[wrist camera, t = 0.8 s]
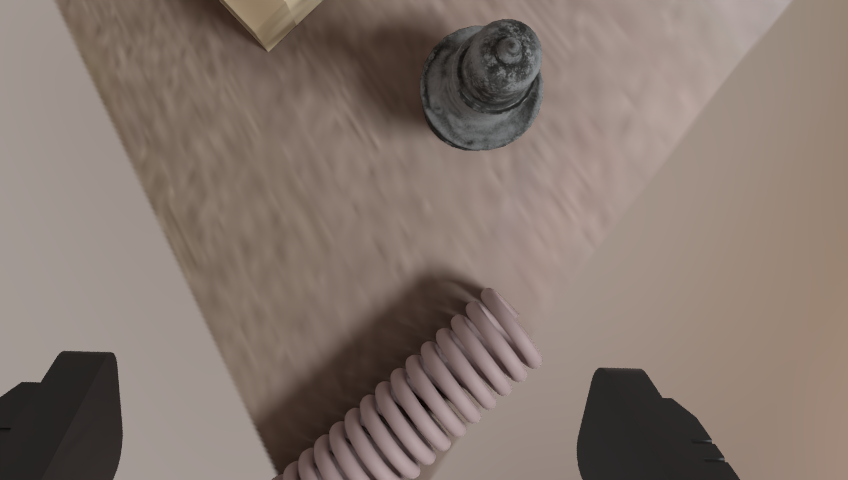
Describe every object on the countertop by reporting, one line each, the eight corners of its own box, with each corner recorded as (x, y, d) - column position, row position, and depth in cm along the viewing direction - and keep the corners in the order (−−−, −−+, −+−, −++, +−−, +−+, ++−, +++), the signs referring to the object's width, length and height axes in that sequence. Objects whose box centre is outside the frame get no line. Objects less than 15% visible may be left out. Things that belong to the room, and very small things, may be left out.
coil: (496, 282, 33) (208, 540, 33) (563, 356, 33) (274, 617, 33) (489, 280, 38) (236, 507, 38) (547, 346, 38) (294, 574, 38)
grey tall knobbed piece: (393, 108, 37) (397, 57, 25) (463, 20, 37) (501, -74, 25) (481, 179, 37) (527, 161, 25) (550, 91, 38) (628, 33, 26)
